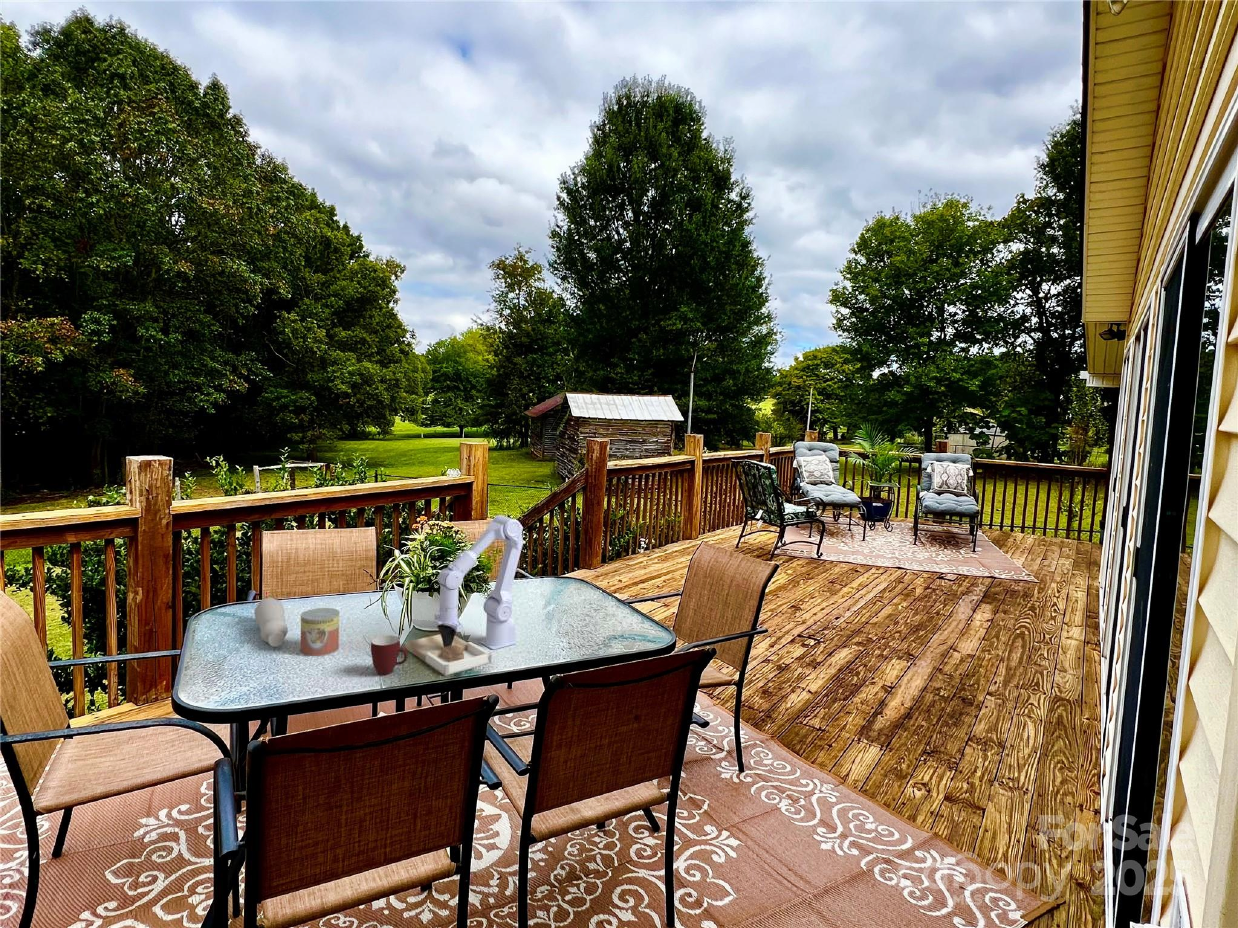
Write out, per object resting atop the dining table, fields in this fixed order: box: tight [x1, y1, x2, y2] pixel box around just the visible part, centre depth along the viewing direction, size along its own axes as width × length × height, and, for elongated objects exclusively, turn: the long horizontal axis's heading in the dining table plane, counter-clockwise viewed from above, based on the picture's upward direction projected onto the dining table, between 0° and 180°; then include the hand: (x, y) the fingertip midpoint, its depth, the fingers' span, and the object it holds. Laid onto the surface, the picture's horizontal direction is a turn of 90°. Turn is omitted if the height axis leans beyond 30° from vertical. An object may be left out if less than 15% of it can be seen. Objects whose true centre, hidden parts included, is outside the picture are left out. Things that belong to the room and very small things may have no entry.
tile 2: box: [442, 653, 464, 662], centre depth 201 cm, size 5×5×2 cm
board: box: [404, 633, 468, 663], centre depth 209 cm, size 16×14×2 cm
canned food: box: [299, 607, 340, 657], centre depth 202 cm, size 11×11×12 cm
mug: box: [370, 634, 409, 676], centre depth 189 cm, size 10×8×10 cm
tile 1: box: [442, 644, 464, 657], centre depth 202 cm, size 5×5×2 cm
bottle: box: [254, 597, 289, 647], centre depth 213 cm, size 9×9×30 cm
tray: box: [425, 641, 492, 677], centre depth 199 cm, size 16×13×3 cm
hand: (447, 646), depth 204 cm, fingers closed
